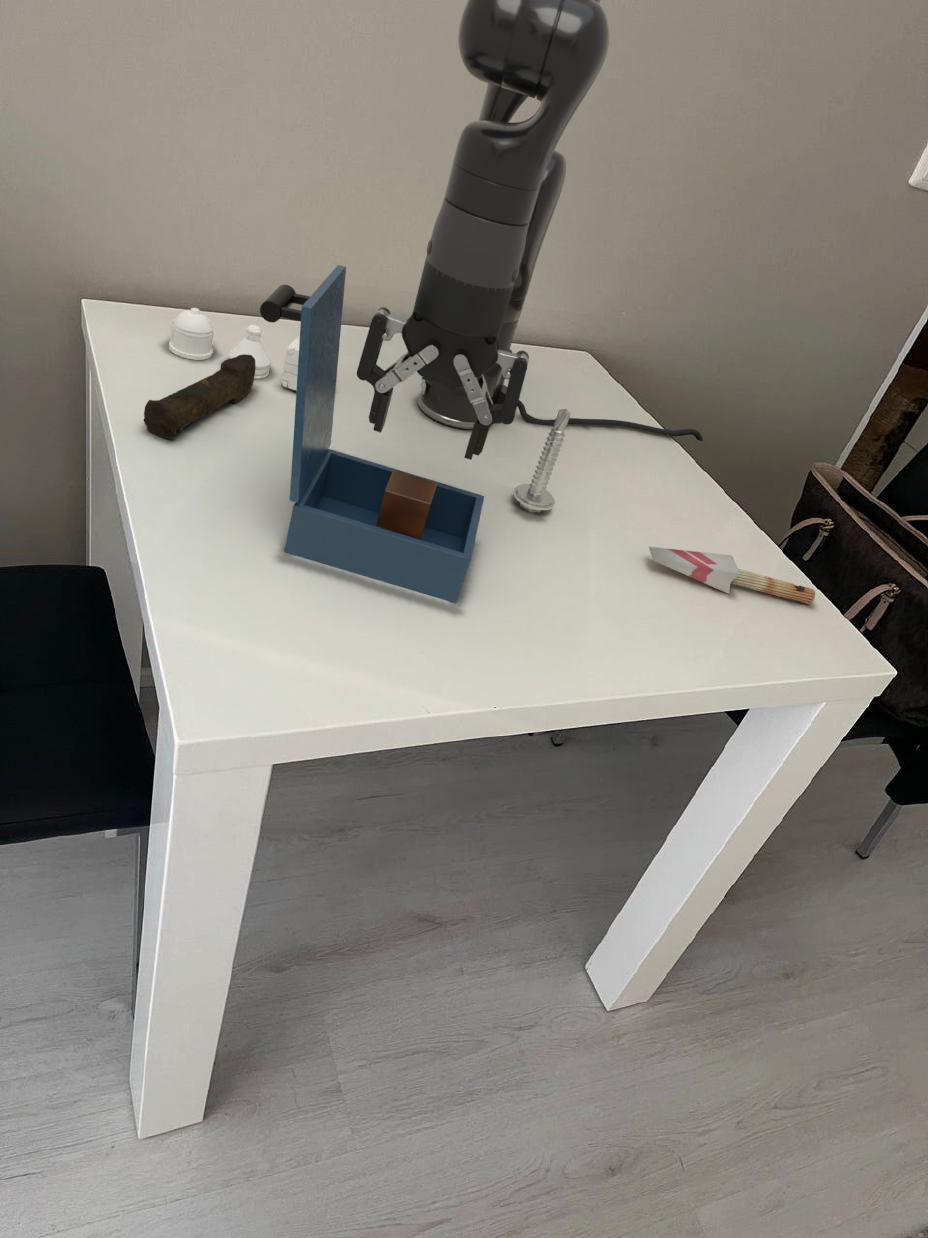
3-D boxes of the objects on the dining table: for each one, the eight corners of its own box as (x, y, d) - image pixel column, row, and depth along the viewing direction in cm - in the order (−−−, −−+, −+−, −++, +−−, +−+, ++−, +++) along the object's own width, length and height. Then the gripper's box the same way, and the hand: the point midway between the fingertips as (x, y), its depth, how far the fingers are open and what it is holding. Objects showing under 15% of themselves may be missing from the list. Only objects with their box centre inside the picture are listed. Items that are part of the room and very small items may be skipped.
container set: (330, 386, 121) (338, 345, 118) (318, 401, 117) (327, 359, 114) (179, 337, 121) (183, 294, 118) (161, 350, 117) (165, 306, 113)
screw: (502, 498, 110) (539, 501, 112) (517, 522, 107) (555, 524, 109) (537, 395, 103) (576, 400, 105) (554, 417, 99) (595, 421, 101)
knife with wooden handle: (652, 532, 106) (812, 578, 110) (642, 552, 108) (800, 596, 112) (659, 551, 103) (822, 597, 107) (648, 571, 105) (810, 616, 109)
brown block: (420, 542, 96) (437, 482, 92) (413, 565, 93) (430, 503, 89) (377, 530, 96) (393, 469, 92) (369, 552, 92) (385, 490, 88)
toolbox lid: (346, 266, 86) (289, 254, 86) (311, 308, 75) (246, 295, 75) (330, 444, 96) (279, 434, 96) (298, 502, 85) (241, 491, 86)
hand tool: (172, 445, 100) (176, 405, 97) (140, 430, 100) (144, 389, 98) (271, 396, 115) (277, 360, 112) (242, 383, 116) (248, 347, 113)
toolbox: (469, 543, 100) (484, 495, 97) (454, 609, 90) (470, 559, 87) (315, 496, 99) (326, 447, 96) (282, 558, 89) (292, 506, 86)
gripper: (556, 280, 82) (501, 448, 91) (395, 228, 81) (356, 403, 90) (552, 305, 76) (494, 483, 85) (379, 250, 75) (338, 435, 84)
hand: (423, 441), depth 88 cm, fingers open, 8 cm apart
